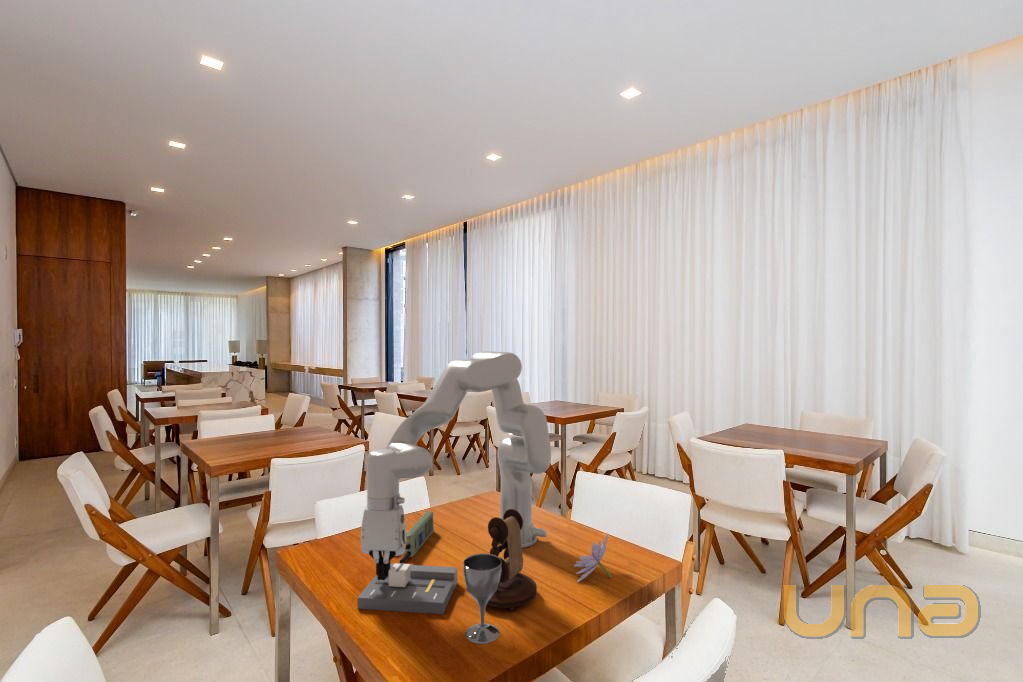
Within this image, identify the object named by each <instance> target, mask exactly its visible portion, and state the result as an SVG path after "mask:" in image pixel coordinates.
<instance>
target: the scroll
mask: <svg viewBox="0 0 1023 682" xmlns="http://www.w3.org/2000/svg"><path fill="white" fill-rule="evenodd" d="M522 527H523V519H522V517H521V515H520V513H519V512H518V511H516V510H514V509H509V510H507V511H506V512H505V513H504V516H503V520H502V519H501V517H497V516H495V517H493V518H491V519H490V520H489V522H488V524H487V532H488V534H489V536H490V537H491V539H492V540H491V545H490V546H491V548H490V550H489V554H493V555H496V556H498V557H499V558H500V559H501V579H500V584H499V587H498V590H497V592H496V593H495V594H494V595H493V597H492V598H491V599H490V600H489V601H488V603H487V605H486V606H491V607H496V608H506V609H507V608H509V610H510V612H511V613H513V612H514V611H515V608H517V607H520V606H524V605H526V604H528V603H530V602H531V601H532V600H534V599H535V598H536V596H537V593H538V588H537V587H538V586H537V583H536V581H535V580H534V579H532V577H530V576H528V575H526V574H525V573H522V570H523V567H524V555H523V548H522V546H521V533H520V530H521V529H522ZM500 544H501V545H500ZM503 550H504V551H503ZM502 552H503V558H502V557H500V554H501V553H502Z"/></svg>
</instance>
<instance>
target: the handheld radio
mask: <svg viewBox="0 0 1023 682" xmlns="http://www.w3.org/2000/svg"><path fill="white" fill-rule="evenodd" d="M434 531H435V530H434V511H432V510H429V511H425V513H424V514H423V515H422V516H421V517H420V518H419V519H418V520H417V521H416V522H415V523H414V525H412V527H411V528H409V530H407V531H406V543H405V544H404V547H405V553H404V554H403V557H402V558H401V559H400V560H399V564H401V563H404V564H406V563H405V562H406V561H407V560H408V559H409V558H414V557H413V556H416V554H417V553H418V551H419V550H420V549H421V548H422V547H423V545H424V544H425V543H426V542H425V541H427V540H428V539H429V538H430V537H431V535H432V534H433V533H434ZM429 536H430V537H429ZM421 546H422V547H421Z"/></svg>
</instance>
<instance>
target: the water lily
mask: <svg viewBox="0 0 1023 682" xmlns="http://www.w3.org/2000/svg"><path fill="white" fill-rule="evenodd" d="M608 538H609V532H607V533H606V535H605V537H604V540H603V543H601V539H599V540H598V544H596V542H593V543H592V545H591V551H590V552H591V555H581V556H579V559H580V560H579V561H575V564H573V566H574V567H577V568H581V569H580V570H579V571H578V572H576V575H578V574H582V573H583V574H582V575H581V576H580V577H579V579H577V582H576V583H579V582H581V581H583V580H584V579H585V578H587V577H588V576H589V575H591V573H592V572H594V570H596V567H597V566H600V568H601V569H602V570H603V572H604V573H605V574H606V575H607V577H608V578H609V579H612V575H611V574H610V573H609V571H608V570H607V569H606V568H605V567H604V566H603V564H602V563H601V560H602V559H603V557H604V556H605V553H606V549H607V544H608Z"/></svg>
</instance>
